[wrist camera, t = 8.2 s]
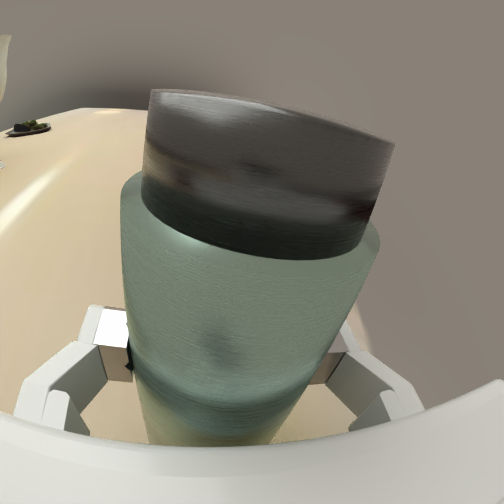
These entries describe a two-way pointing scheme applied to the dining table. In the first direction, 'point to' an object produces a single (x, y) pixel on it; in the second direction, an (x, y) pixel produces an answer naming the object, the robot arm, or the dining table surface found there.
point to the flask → (241, 259)
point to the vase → (3, 69)
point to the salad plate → (28, 129)
